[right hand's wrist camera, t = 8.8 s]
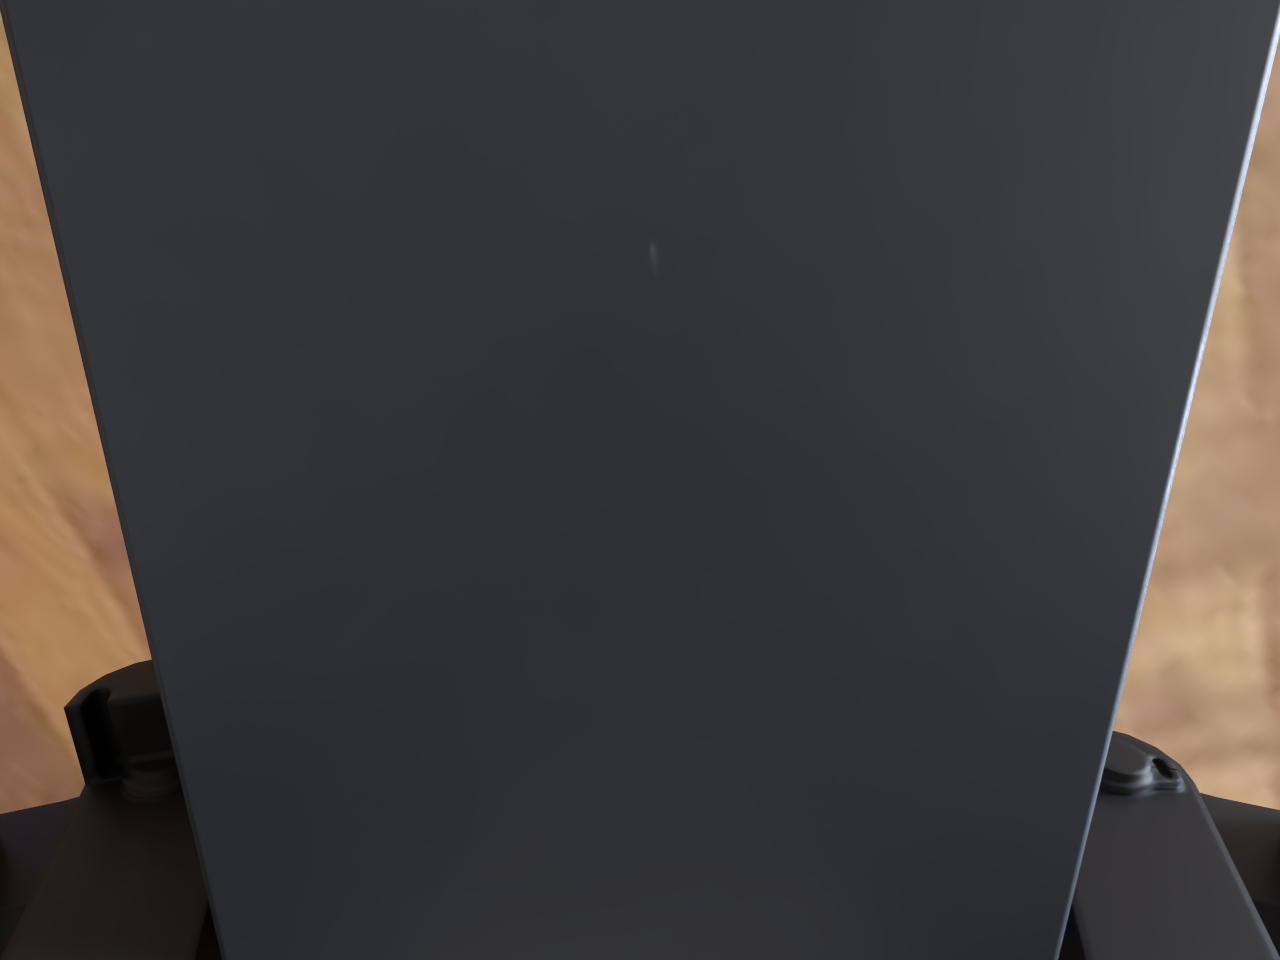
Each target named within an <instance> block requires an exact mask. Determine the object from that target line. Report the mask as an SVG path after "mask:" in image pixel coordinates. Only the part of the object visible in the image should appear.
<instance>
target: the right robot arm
mask: <svg viewBox="0 0 1280 960" xmlns="http://www.w3.org/2000/svg"><path fill="white" fill-rule="evenodd" d="M64 710H65V714H66V717H67V721H68V724H69V728H70V731H71V735H72V738H73V742H74V745H75V749H76V752H77V756H78V759H79V763H80V767H81V770H82V774H83V777H84V781H85V786H84V788H83V791H82V793H81V795H80V797H77V798H73V799H69V800H66V801H62V802H57V803H52V804H47V805H42V806H38V807H33V808H28V809H23V810H18V811H14V812H9V813H4V814H0V960H222V957H221V952H220V948H219V944H218V940H217V935H216V931H215V927H214V922H213V918H212V914H211V910H210V905H209V901H208V897H207V892H206V888H205V884H204V880H203V875H202V871H201V867H200V862H199V858H198V854H197V850H196V845H195V841H194V837H193V833H192V828H191V824H190V820H189V815H188V811H187V807H186V803H185V798H184V794H183V790H182V785H181V781H180V777H179V773H178V768H177V764H176V760H175V755H174V751H173V747H172V743H171V738H170V734H169V730H168V726H167V721H166V717H165V713H164V708H163V704H162V700H161V696H160V691H159V687H158V683H157V678H156V674H155V670H154V666H153V661H152V660H148V661H144V662H139V663H135V664H132V665H129V666H127V667H124V668H122V669H119V670H117V671H114V672H112V673H109V674H106V675H104V676H103V677H101V678H99V679H98V680H96V681H94V682H93V683H91V684H90V685H88V686H86V687H85V688H83V689H81V690H80V691H79V692H78V693H77V694H76V695H75V696H74V697H73V698H72V699H71V700H70V702H69V703H68V704H67V705H66V706H65V707H64ZM1058 960H1280V810H1275V809H1271V808H1266V807H1261V806H1256V805H1251V804H1246V803H1242V802H1237V801H1232V800H1227V799H1222V798H1218V797H1214V796H1210V795H1206V794H1203V793H1199V791H1198V789H1197V787H1196V785H1195V783H1194V782H1193V780H1192V779H1191V778H1190V777H1189V775H1188V774H1187V773H1186V772H1185V770H1184V769H1183V768H1182V766H1181V765H1180V764H1179V763H1177V762H1176V761H1174V760H1173V759H1172V758H1170V757H1169V756H1167V755H1166V754H1165V753H1163V752H1162V751H1160V750H1159V749H1158V748H1156V747H1154V746H1152V745H1150V744H1147V743H1145V742H1143V741H1141V740H1139V739H1136V738H1134V737H1132V736H1130V735H1127V734H1123V733H1119V732H1115V731H1113V732H1112V736H1111V740H1110V744H1109V749H1108V753H1107V757H1106V761H1105V765H1104V770H1103V774H1102V778H1101V782H1100V786H1099V790H1098V795H1097V799H1096V803H1095V807H1094V811H1093V815H1092V820H1091V824H1090V828H1089V832H1088V836H1087V840H1086V845H1085V849H1084V853H1083V857H1082V861H1081V866H1080V870H1079V874H1078V878H1077V882H1076V886H1075V891H1074V895H1073V899H1072V903H1071V907H1070V911H1069V916H1068V920H1067V924H1066V928H1065V932H1064V936H1063V941H1062V945H1061V949H1060V953H1059V957H1058Z"/></svg>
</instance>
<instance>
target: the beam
mask: <svg viewBox="0 0 1280 960" xmlns="http://www.w3.org/2000/svg"><path fill="white" fill-rule="evenodd" d="M0 11H1V15H2V19H3V24H4V28H5V32H6V36H7V41H8V45H9V49H10V54H11V58H12V62H13V66H14V71H15V75H16V79H17V84H18V88H19V92H20V96H21V101H22V105H23V109H24V114H25V118H26V122H27V126H28V131H29V135H30V139H31V143H32V148H33V152H34V156H35V161H36V165H37V169H38V173H39V178H40V182H41V186H42V191H43V195H44V199H45V203H46V208H47V212H48V216H49V221H50V225H51V229H52V233H53V238H54V242H55V246H56V250H57V255H58V259H59V263H60V268H61V272H62V276H63V280H64V285H65V289H66V293H67V298H68V302H69V306H70V310H71V315H72V319H73V323H74V328H75V332H76V336H77V340H78V345H79V349H80V353H81V357H82V362H83V366H84V370H85V375H86V379H87V383H88V387H89V392H90V396H91V400H92V405H93V409H94V413H95V417H96V422H97V426H98V430H99V435H100V439H101V443H102V447H103V452H104V456H105V460H106V464H107V469H108V473H109V477H110V482H111V486H112V490H113V494H114V499H115V503H116V507H117V512H118V516H119V520H120V524H121V529H122V533H123V537H124V542H125V546H126V550H127V554H128V559H129V563H130V567H131V571H132V576H133V580H134V584H135V589H136V593H137V597H138V601H139V606H140V610H141V614H142V619H143V623H144V627H145V631H146V636H147V640H148V644H149V648H150V653H151V657H152V661H153V666H154V670H155V674H156V678H157V683H158V687H159V691H160V696H161V700H162V704H163V708H164V713H165V717H166V721H167V726H168V730H169V734H170V738H171V743H172V747H173V751H174V755H175V760H176V764H177V768H178V773H179V777H180V781H181V785H182V790H183V794H184V798H185V803H186V807H187V811H188V815H189V820H190V824H191V828H192V833H193V837H194V841H195V845H196V850H197V854H198V858H199V862H200V867H201V871H202V875H203V880H204V884H205V888H206V892H207V897H208V901H209V905H210V910H211V914H212V918H213V922H214V927H215V931H216V935H217V940H218V944H219V948H220V952H221V957H222V960H1058V957H1059V953H1060V949H1061V945H1062V941H1063V936H1064V932H1065V928H1066V924H1067V920H1068V916H1069V911H1070V907H1071V903H1072V899H1073V895H1074V891H1075V886H1076V882H1077V878H1078V874H1079V870H1080V866H1081V861H1082V857H1083V853H1084V849H1085V845H1086V840H1087V836H1088V832H1089V828H1090V824H1091V820H1092V815H1093V811H1094V807H1095V803H1096V799H1097V795H1098V790H1099V786H1100V782H1101V778H1102V774H1103V770H1104V765H1105V761H1106V757H1107V753H1108V749H1109V744H1110V740H1111V736H1112V732H1113V728H1114V724H1115V719H1116V715H1117V711H1118V707H1119V703H1120V699H1121V694H1122V690H1123V686H1124V682H1125V678H1126V674H1127V669H1128V665H1129V661H1130V657H1131V653H1132V648H1133V644H1134V640H1135V636H1136V632H1137V628H1138V623H1139V619H1140V615H1141V611H1142V607H1143V603H1144V598H1145V594H1146V590H1147V586H1148V582H1149V578H1150V573H1151V569H1152V565H1153V561H1154V557H1155V552H1156V548H1157V544H1158V540H1159V536H1160V532H1161V527H1162V523H1163V519H1164V515H1165V511H1166V507H1167V502H1168V498H1169V494H1170V490H1171V486H1172V482H1173V477H1174V473H1175V469H1176V465H1177V461H1178V456H1179V452H1180V448H1181V444H1182V440H1183V436H1184V431H1185V427H1186V423H1187V419H1188V415H1189V411H1190V406H1191V402H1192V398H1193V394H1194V390H1195V386H1196V381H1197V377H1198V373H1199V369H1200V365H1201V360H1202V356H1203V352H1204V348H1205V344H1206V340H1207V335H1208V331H1209V327H1210V323H1211V319H1212V315H1213V310H1214V306H1215V302H1216V298H1217V294H1218V290H1219V285H1220V281H1221V277H1222V273H1223V269H1224V264H1225V260H1226V256H1227V252H1228V248H1229V244H1230V239H1231V235H1232V231H1233V227H1234V223H1235V219H1236V214H1237V210H1238V206H1239V202H1240V198H1241V194H1242V189H1243V185H1244V181H1245V177H1246V173H1247V168H1248V164H1249V160H1250V156H1251V152H1252V148H1253V143H1254V139H1255V135H1256V131H1257V127H1258V123H1259V118H1260V114H1261V110H1262V106H1263V102H1264V98H1265V93H1266V89H1267V85H1268V81H1269V77H1270V72H1271V68H1272V64H1273V60H1274V56H1275V52H1276V47H1277V43H1278V39H1279V35H1280V0H0Z"/></svg>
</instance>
